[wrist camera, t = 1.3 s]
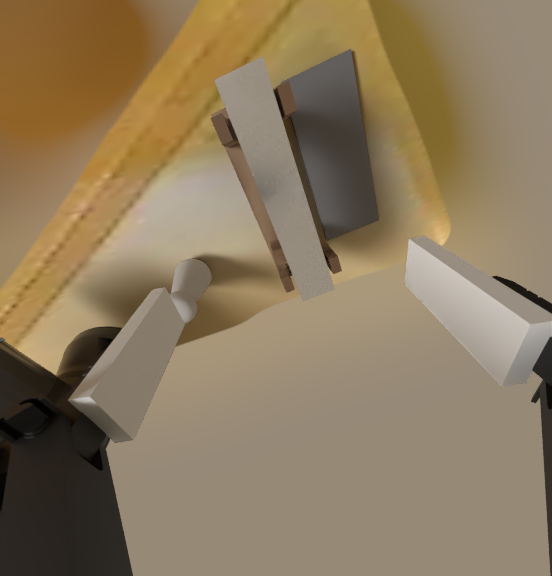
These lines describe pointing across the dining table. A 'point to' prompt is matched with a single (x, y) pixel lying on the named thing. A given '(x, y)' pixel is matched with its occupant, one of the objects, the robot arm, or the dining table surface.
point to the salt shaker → (189, 286)
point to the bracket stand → (251, 190)
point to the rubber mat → (334, 144)
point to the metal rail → (275, 172)
